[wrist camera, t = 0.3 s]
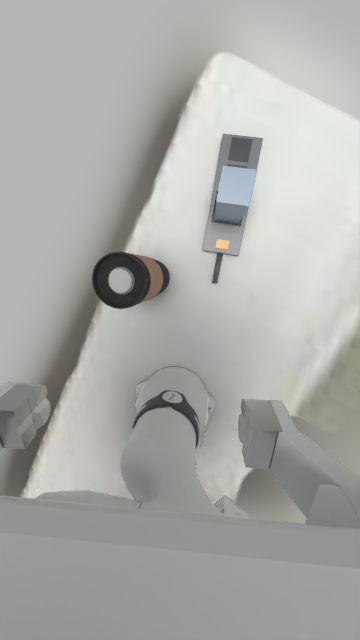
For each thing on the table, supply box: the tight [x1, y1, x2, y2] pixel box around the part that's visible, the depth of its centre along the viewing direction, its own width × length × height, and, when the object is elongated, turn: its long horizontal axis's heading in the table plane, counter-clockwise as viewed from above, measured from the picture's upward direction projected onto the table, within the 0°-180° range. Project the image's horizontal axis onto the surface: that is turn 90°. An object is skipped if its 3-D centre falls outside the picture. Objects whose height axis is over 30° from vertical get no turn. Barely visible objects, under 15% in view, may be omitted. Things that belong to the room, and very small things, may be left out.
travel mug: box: [92, 252, 169, 309], centre depth 41 cm, size 8×8×20 cm
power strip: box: [203, 134, 263, 283], centre depth 45 cm, size 26×7×2 cm, turn 171°
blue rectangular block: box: [214, 166, 257, 225], centre depth 39 cm, size 5×5×14 cm
